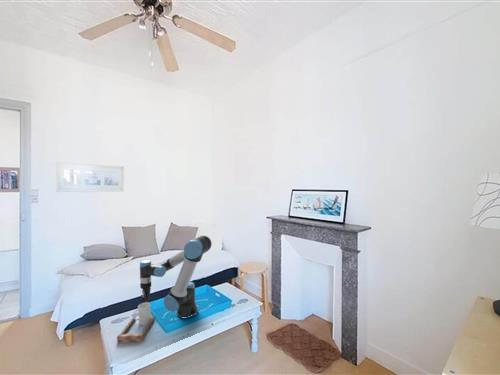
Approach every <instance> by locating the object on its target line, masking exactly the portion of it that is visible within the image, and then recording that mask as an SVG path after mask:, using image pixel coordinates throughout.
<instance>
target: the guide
mask: <svg viewBox="0 0 500 375" xmlns="http://www.w3.org/2000/svg"><path fill="white" fill-rule="evenodd" d="M151 317H152V318H151V320H150V321H149V323H148V324H146V326H145V327H144V329H143V331H142V332H141V333H128V332H129V331H130V330H131V328H132V327H133V325H134V324H135V323H136V321H137V320H135V319H134V318H136V319H137V317H136V316H134V318H133V317H132V318H131V319H130V321H129V322H128V324H127V325H126V326H125V327H124V329H123V330H122V331H121V333H119V334H117V336H116V338H117V340H116V342H117V344H120V343H121V344H122V343H124V344H126V343H143V341H144V339H145V338H146V336H147V334H148V333H149V330H150V329H151V328H152V326H153V324H154V323H155V320H156V316H152V315H151ZM127 333H128V334H127Z"/></svg>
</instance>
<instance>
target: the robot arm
mask: <svg viewBox="0 0 500 375" xmlns="http://www.w3.org/2000/svg"><path fill="white" fill-rule="evenodd" d="M212 244H213V242H212V240H211V238H210V237H208V236H206V235H200V236H198V237H196V238H193V239H190V240H188V242H186V243H185V245H184V247H183V250H181V251H179V252H178V253H175V255H173V256H171V257H169V258H168V259H166V260H164V261H162V262H160V263H157V264H152V261H151V260H149V259H144V260H142V261H140V263H139V282H140V284H139V285H140V286H139V287H140V289H141V290H142V291H141V293H142V294H141V295H140V297H141V303H144V302H149V303H150V304H151V301H150V300H151V289H152V277H156V278H157V277H158V278H162V277H164V276H165V275H166V272H168V271H170V270H173V269H174V268H175V267H177V266H178V265H180V264H181V265H182V266H181V268H180V271H179V274H178V275H177V276H178V277H177V278H176V280H175V284H174V285H173V286H172V287H171V288H170V290H169V293H168V294H167V295H166V296H164V298H163V305H164V307H165V308H166V310H167V311H169V312H171V313H173V312H176V316H177V317H178V316H179V317H188V316H191V315H194V314H195V313H197V312H199V310H198V306H197V302H196V287H195V286H196V285H195V282H193V281H191V279H192V277H193V274H194V271H195V270H196V267H197V264H198V263H199V262H201V261H202V258H203V255H204V254H206V253H207V252H208V251H210V250H211V248H212ZM197 314H198V313H197ZM179 317H178V318H179Z"/></svg>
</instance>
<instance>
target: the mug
mask: <svg viewBox="0 0 500 375" xmlns="http://www.w3.org/2000/svg"><path fill="white" fill-rule="evenodd" d="M149 302H150V301H149ZM149 302H144V303H142V302H141V303H140V304H139V305H138V306H137V309H136V310H134V312H133V314H132V318H134V317H135V314H136V312H138V318H137V317H136V318H134V319H135V320H136V321H138V324H139V325H141V326H145V325H146V326H147V324H148V323H149V321H150V320H151V318H152V310H151V302H150V303H149Z"/></svg>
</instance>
